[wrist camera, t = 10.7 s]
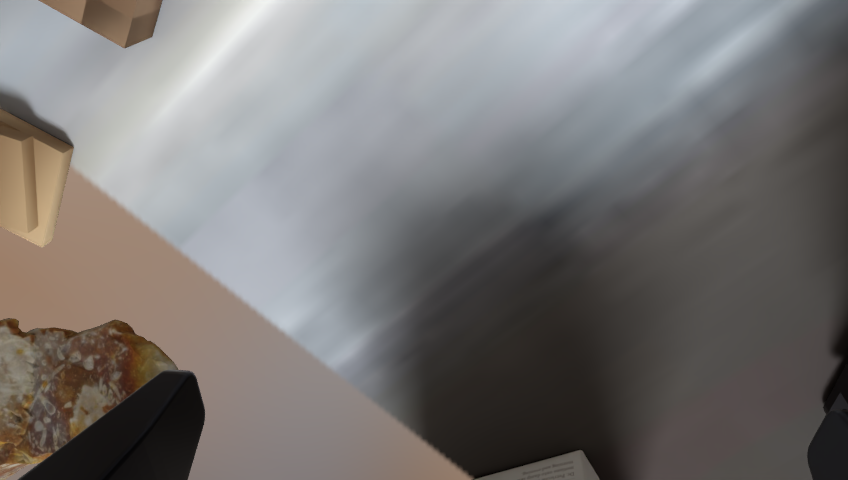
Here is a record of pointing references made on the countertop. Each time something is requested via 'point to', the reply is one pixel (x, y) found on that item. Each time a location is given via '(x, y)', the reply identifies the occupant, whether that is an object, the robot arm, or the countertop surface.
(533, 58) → the countertop surface
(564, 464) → the skincare box
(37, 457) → the decorative stone
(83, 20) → the walnut rack
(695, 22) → the countertop surface
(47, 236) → the oak offcuts
